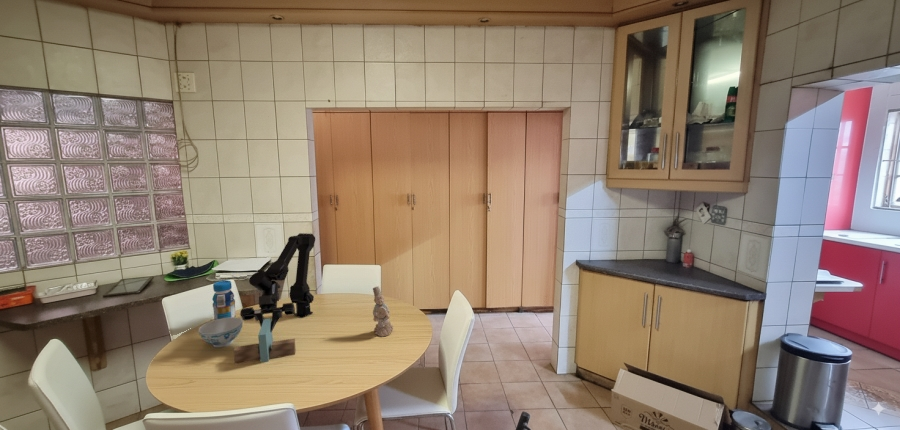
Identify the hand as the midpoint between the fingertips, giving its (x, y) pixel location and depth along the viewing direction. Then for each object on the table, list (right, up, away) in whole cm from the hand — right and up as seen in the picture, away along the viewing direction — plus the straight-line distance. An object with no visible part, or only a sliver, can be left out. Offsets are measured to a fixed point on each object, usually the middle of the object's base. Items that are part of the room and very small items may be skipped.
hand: (267, 332), depth 135 cm
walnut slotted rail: (+1, -8, -3) cm, 9 cm away
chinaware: (-22, -7, +7) cm, 24 cm away
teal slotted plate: (+1, -7, -1) cm, 7 cm away
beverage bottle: (-30, -5, +23) cm, 38 cm away
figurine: (+42, -6, +16) cm, 45 cm away
